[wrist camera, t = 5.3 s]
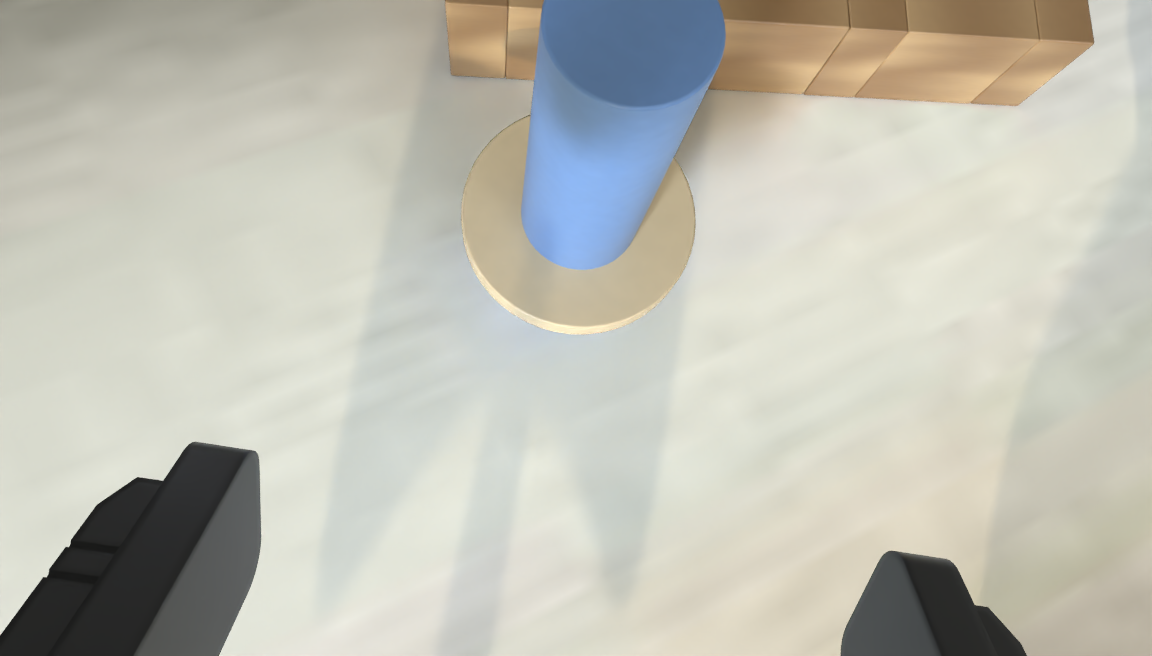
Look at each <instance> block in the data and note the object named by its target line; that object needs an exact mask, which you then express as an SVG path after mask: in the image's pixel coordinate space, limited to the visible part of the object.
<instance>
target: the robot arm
mask: <svg viewBox="0 0 1152 656" xmlns="http://www.w3.org/2000/svg"><path fill="white" fill-rule="evenodd" d="M260 546H261V515H260V470H259V458H258V454H257V453H256V451H252V450H245V449H239V448H232V447H226V446H219V445H213V444H206V443H200V442H192V443H191V444H189V445H188V446H187V447H186V448H185V450H184V451H183V452H182V454H181V455H180V457H179V458H178V460H177V461H176V463H175V464H174V466H173V467H172V469H171V470H170V472H169V473H168V475H167V476H166V478H165V479H164V481H159V480H153V479H146V478H139V477H137V478H135V479H134V480H132V481H131V482H130V483H128V484H127V485H125V486H124V487H122V488H121V489H119V490H118V491H116V492H115V493H114V494H112V495H111V496H109V497H108V498H106V499H105V500H103V501H102V502H100V503H99V504H97V506H96V507H95V508H94V510H93V511H92V512H91V514H90V515H89V516H88V518H87V519H86V520H85V522H84V523H83V525H82V526H81V527H80V529H79V530H78V531H77V533H76V534H75V535H74V537H73V538H72V539H71V544H70V546H69V547H65V549H64V550H63V552H62V553H61V554H60V556H59V557H58V558H57V560H56V561H55V562H54V564H53V565H52V566H51V568H50V569H49V574H48V576H47V578H46V577H43V579H42V580H41V581H40V583H39V584H38V585H37V587H36V588H35V589H34V591H33V592H32V593H31V595H30V596H29V597H28V599H27V600H26V601H25V603H24V604H23V606H22V607H21V608H20V610H19V611H18V612H17V614H16V615H15V616H14V618H13V619H12V620H11V622H10V623H9V624H8V626H7V627H6V628H5V630H4V631H3V633H2V634H1V635H0V656H219V654H220V652H221V650H222V648H223V645H224V643H225V641H226V639H227V637H228V635H229V632H230V630H231V628H232V626H233V624H234V622H235V620H236V617H237V615H238V613H239V611H240V609H241V607H242V604H243V602H244V600H245V598H246V596H247V594H248V591H249V589H250V587H251V584H252V581H253V578H254V575H255V571H256V568H257V563H258V559H259V553H260ZM841 656H1027V655H1026V653H1025V651H1024V649H1023V647H1022V645H1021V643H1020V642H1019V641H1018V640H1017V639H1016V638H1015V637H1014V636H1013V634H1012V633H1011V632H1010V631H1009V630H1008V629H1007V628H1006V627H1005V626H1004V624H1003V623H1002V622H1001V621H1000V620H999V619H998V618H997V617H996V616H995V614H994V613H993V612H992V611H991V610H990V609H989V608H988V607H983V606H976V605H974V603H973V601H972V599H971V597H970V594H969V592H968V590H967V588H966V586H965V584H964V582H963V579H962V577H961V575H960V573H959V571H958V569H957V567H956V566H955V565H954V564H953V563H952V562H951V561H950V560H947V559H942V558H936V557H929V556H923V555H916V554H910V553H903V552H897V551H888V552H886V553H885V554H884V555H883V556H882V557H881V559H880V560H879V562H878V564H877V566H876V568H875V570H874V572H873V574H872V576H871V578H870V580H869V582H868V584H867V586H866V588H865V590H864V592H863V594H862V596H861V598H860V600H859V602H858V604H857V606H856V608H855V610H854V612H853V614H852V616H851V618H850V620H849V622H848V624H847V626H846V628H845V631H844V634H843V639H842V645H841Z"/></svg>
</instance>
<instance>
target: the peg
mask: <svg viewBox="0 0 1152 656" xmlns="http://www.w3.org/2000/svg"><path fill="white" fill-rule="evenodd" d="M725 39H726V31H725V22H724V17H723V13H722V10H721V7H720V4H719V2H718V0H544V2H543V5H542V12H541V20H540V29H539V39H538V49H537V59H536V68H535V78H534V88H533V98H532V107H531V115H528V116H526V117H524V118H522V119H520V120H518V121H516V122H514V123H513V124H511V125H510V126H508V127H507V128H505V129H504V130H502V131H501V132H500V133H499V134H498V135H497V136H496V137H494V138H493V139H492V140H491V141H490V142H489V144H488V145H487V146H486V147H485V148H484V149H483V150H482V152H481V153H480V155H479V156H478V158H477V159H476V161H475V162H474V165H473V167H472V169H471V171H470V173H469V175H468V178H467V181H466V184H465V188H464V192H463V198H462V207H461V222H462V232H463V240H464V245H465V248H466V252H467V256H468V258H469V261H470V263H471V266H472V268H473V270H474V272H475V274H476V275H477V277H478V279H479V280H480V282H481V283H482V285H483V286H484V287H485V289H486V290H487V291H488V292H489V294H490V295H491V296H492V297H493V298H494V299H495V300H496V301H497V302H498V303H499V304H500V305H501V306H503V307H504V308H505V309H507V310H508V311H509V312H511V313H512V314H513V315H515V316H517V317H519V318H520V319H522V320H524V321H526V322H528V323H530V324H532V325H535V326H537V327H540V328H543V329H546V330H550V331H554V332H559V333H566V334H594V333H602V332H606V331H610V330H614V329H617V328H620V327H622V326H625V325H627V324H630V323H632V322H633V321H635V320H637V319H639V318H641V317H642V316H644V315H645V314H647V313H648V312H649V311H650V310H652V309H653V308H654V307H655V306H657V305H658V304H659V303H660V302H661V301H662V300H663V299H664V298H665V296H666V295H667V294H668V292H669V291H670V290H671V288H672V287H673V286H674V284H675V283H676V282H677V280H678V279H679V277H680V276H681V274H682V272H683V270H684V268H685V267H686V264H687V262H688V259H689V256H690V254H691V250H692V246H693V242H694V236H695V225H696V224H695V208H694V203H693V197H692V194H691V191H690V187H689V184H688V182H687V179H686V177H685V175H684V173H683V171H682V169H681V167H680V166H679V164H678V163H677V161H676V160H675V158H674V156H675V154H676V152H677V150H678V148H679V146H680V144H681V142H682V140H683V138H684V136H685V134H686V132H687V130H688V127H689V125H690V123H691V121H692V119H693V117H694V115H695V113H696V111H697V109H698V107H699V105H700V103H701V101H702V99H703V97H704V95H705V93H706V91H707V89H708V87H709V85H710V83H711V81H712V79H713V77H714V75H715V73H716V71H717V69H718V67H719V64H720V62H721V59H722V57H723V52H724V48H725Z"/></svg>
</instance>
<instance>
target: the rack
mask: <svg viewBox="0 0 1152 656" xmlns="http://www.w3.org/2000/svg"><path fill="white" fill-rule="evenodd" d="M543 2H544V0H445V7H446V19H447V32H448V44H449V57H450V69H451V75H454V76H472V77H490V78H505V77H506V78H507V79H525V80H534V78H535V68H536V59H537V49H538V39H539V29H540V20H541V12H542V5H543ZM718 2H719V4H720V7H721V10H722V13H723V17H724V22H725V31H726V39H725V48H724V52H723V57H722V59H721V62H720V64H719V67H718V69H717V71H716V73H715V75H714V77H713V79H712V81H711V83H710V85H709V87H708V89H717V90H736V91H754V92H772V93H791V94H803V93H804V95H820V96H838V97H858V98H876V99H894V100H913V101H931V102H949V103H972V104H991V105H1009V106H1017V105H1019V104H1020V103H1022V102H1023V101H1024V100H1025V99H1027V98H1028V97H1029V96H1030V95H1032V94H1033V93H1034V92H1035V91H1037V90H1038V89H1039V88H1040V87H1041V86H1043V85H1044V84H1045V83H1046V82H1048V81H1049V80H1050V79H1051V78H1053V77H1054V76H1055V75H1056V74H1058V73H1059V72H1060V71H1061V70H1063V69H1064V68H1065V67H1066V66H1068V65H1069V64H1070V63H1071V62H1072V61H1074V60H1075V59H1076V58H1077V57H1079V56H1080V55H1081V54H1082V53H1084V52H1085V51H1086V50H1087V49H1089V48H1090V47H1091V46H1092V45H1093V44H1094V37H1093V31H1092V24H1091V18H1090V12H1089V5H1088V0H718Z"/></svg>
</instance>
